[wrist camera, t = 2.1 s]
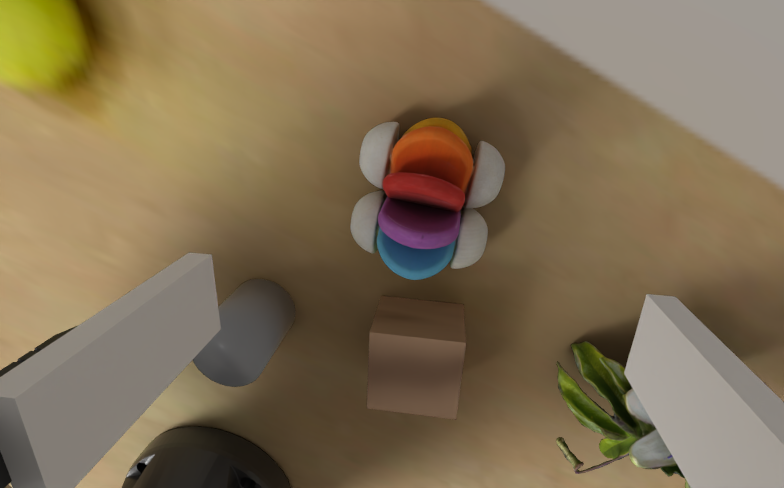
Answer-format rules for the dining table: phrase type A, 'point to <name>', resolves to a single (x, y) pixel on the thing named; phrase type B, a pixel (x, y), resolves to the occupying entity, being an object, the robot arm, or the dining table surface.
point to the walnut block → (416, 357)
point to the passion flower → (630, 420)
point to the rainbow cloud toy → (425, 197)
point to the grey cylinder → (247, 333)
